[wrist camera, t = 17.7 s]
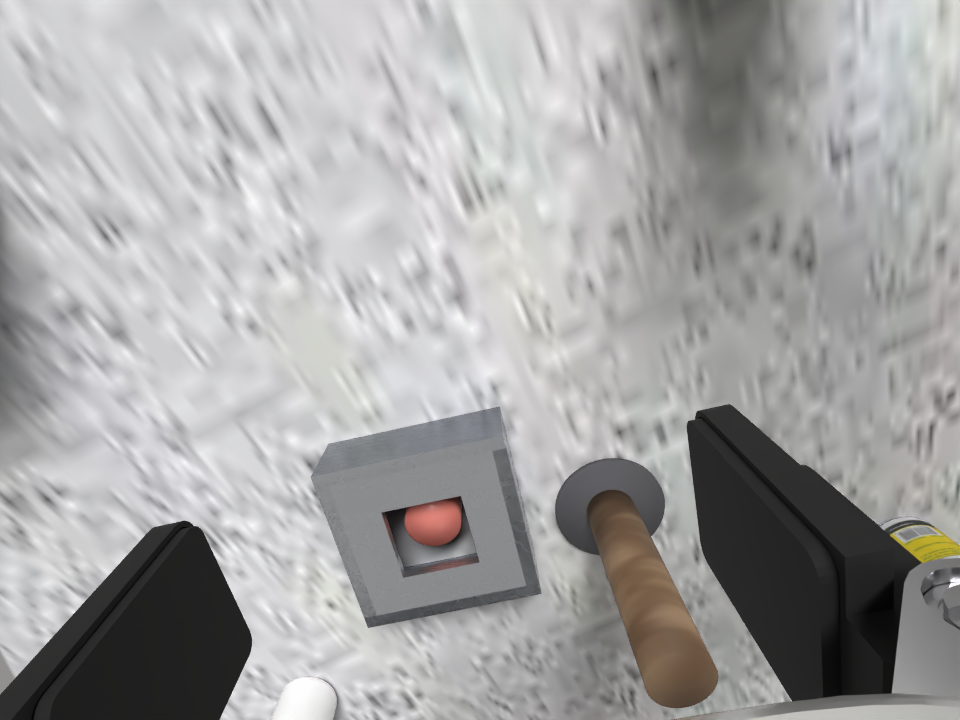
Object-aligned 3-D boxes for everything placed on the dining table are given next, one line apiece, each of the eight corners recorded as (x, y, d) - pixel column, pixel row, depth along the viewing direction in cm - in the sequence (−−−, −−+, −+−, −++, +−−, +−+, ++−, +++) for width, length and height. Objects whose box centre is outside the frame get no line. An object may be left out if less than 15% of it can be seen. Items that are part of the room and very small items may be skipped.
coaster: (655, 448, 44) (657, 451, 43) (668, 539, 46) (670, 543, 46) (546, 471, 44) (547, 474, 44) (565, 559, 47) (566, 564, 46)
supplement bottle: (893, 587, 49) (1012, 703, 38) (844, 554, 47) (953, 664, 37) (950, 537, 47) (1091, 644, 36) (901, 501, 46) (1033, 601, 35)
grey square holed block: (499, 406, 42) (503, 435, 38) (534, 551, 47) (541, 593, 42) (328, 444, 43) (310, 477, 38) (378, 582, 48) (368, 627, 43)
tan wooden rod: (631, 485, 44) (715, 646, 29) (637, 525, 45) (721, 700, 30) (582, 495, 44) (640, 660, 29) (590, 535, 46) (650, 713, 30)
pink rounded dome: (454, 476, 43) (453, 492, 41) (467, 521, 45) (467, 539, 43) (401, 487, 44) (397, 504, 41) (416, 531, 45) (413, 550, 43)
